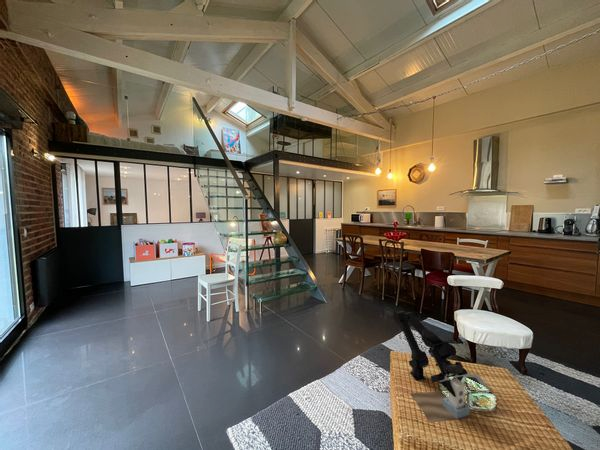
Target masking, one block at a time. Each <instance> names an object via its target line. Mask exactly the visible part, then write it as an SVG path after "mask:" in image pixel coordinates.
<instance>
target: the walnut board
mask: <svg viewBox="0 0 600 450" xmlns="http://www.w3.org/2000/svg"><path fill="white" fill-rule="evenodd" d="M442 391H443V390H437V391H436V390H433V391H425V392H424V391H423V392H412V393H409V395H410V396H411V397H412V399H413V400H414V402H415V403H416V404H417V406H418V407H419V409H420V410H421V412H422V413H423V415H424V416H425V417H426V419H427V420H428V421H429V423H438V422H449V421H457V420H467V419H468V420H469V419H473V418H474V416H472V415H471V414H470V415H468V416H464V417H461V418H458V419H456V418H455V417H454V416H453V415H452V414H451V413H450V412H449V411H448V410H447V409H446V408H445V407H444V406H443V398H447V397H446V396H445V395H444V394H443V393H442Z"/></svg>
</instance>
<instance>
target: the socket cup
mask: <svg viewBox="0 0 600 450" xmlns="http://www.w3.org/2000/svg"><path fill="white" fill-rule="evenodd" d="M443 406H444V407H445V408H446V409H447V410H448V411H449V412H450V413H451V414H452V415H453V416H454V417H455V418H456V419H458V418H461V417H464V416H468V415H471V413H470V412H471V407H470V406H469V405H467V404H466V403H465V402H464V406H463V408H461V409H458V410H457V409H456V408H454V407H453V406H452V405H451V404H450V403H449V397H447V398H443Z"/></svg>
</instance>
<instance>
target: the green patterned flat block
mask: <svg viewBox="0 0 600 450" xmlns="http://www.w3.org/2000/svg"><path fill="white" fill-rule="evenodd" d="M461 376H463V377H466V378H469V379H471V380H473V381H475V382H477V383H479V384H481V385H483V386H485V387H486V388H488V389H489V390H490V391H491V389H490V388H489V387H488V386H487V384H486V383H485V382H484V381H483V379H482V378H481V376H480V375H478V374H471V373H468V374H465V375H461Z"/></svg>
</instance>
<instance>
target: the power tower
mask: <svg viewBox="0 0 600 450" xmlns="http://www.w3.org/2000/svg"><path fill="white" fill-rule="evenodd" d="M449 380H450V384H451V386H452V388H453V390H454V392H455V395H456V397H454V396H453V395H452V394H451V393H450V392H449V403H450V404H451V405H452V406H453V407H454V408H456V409H457V410H458V409H461V408H463V406H464V403H465V389H466V387H465V386H466V384H465V383H463V382H461V381H460V380H458V379H457V378H456V379H453V378H451V379H449Z"/></svg>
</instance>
